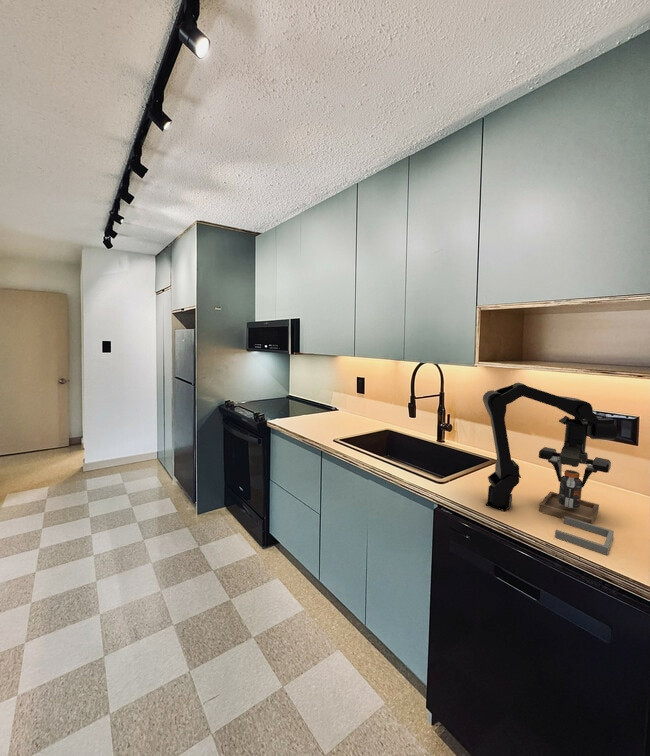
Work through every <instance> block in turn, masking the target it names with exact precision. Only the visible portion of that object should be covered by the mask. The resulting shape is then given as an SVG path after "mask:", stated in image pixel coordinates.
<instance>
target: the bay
mask: <svg viewBox="0 0 650 756" xmlns="http://www.w3.org/2000/svg"><path fill="white" fill-rule="evenodd" d="M564 524H565V525H568V526H571V527H575V528H577V529H580V530H584V531H588V532H589V533H594V534H596V535H600V536H603V537H606V538H605V541H604V544H603V543H598V542H595V541H592V540H590V539H586V538H583V537H581V536H577V535H575V534H572V533H568V532H565V531H562V530H559V529H555V532H554V538H555V537H556V538H555V539H559V540H561V539H562V540H561V541H564V540H565V541H564V542H567V541H568V543H570V544H573V545H575V546H579V547H582V548H585V549H588V550H590V551H594V552H597V553H599V554H602V555H605V556H608V554H609V552H610V548H611V545H612V542H613V539H614V534H615V533H614V532H615V530H613V529H609V528H606V527H603V526H600V525H596V524H594V523H593V524H590V523H586V522H583V521H580V520H576V519H573V518H570V517H566V516H564V519H563V525H564Z"/></svg>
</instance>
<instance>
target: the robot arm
mask: <svg viewBox="0 0 650 756" xmlns="http://www.w3.org/2000/svg"><path fill="white" fill-rule="evenodd" d="M522 397H524V398H527V399H530V400H532V401H535V402H539V403H541V404H545V405H549V406H551V407H554V408H556V409H558V410H560V411H562V412H564V413H566V414H568V415H570V416H572V417H574V418H570V417H569V416H567V415H564V416H563V417H562V418H560V419H558V422H559V423H561V424H562V425H565V430H564V431H565V432H564V441H563V446H562V448H561V451H560V452H557V448H552V447H546V446H544V447H543V448H541V449H540V450H539V451H538V458H539V459H543V460H547V462H548V463H550V464H551V465H552V467H553V468H554V471H555V473H556V476H557V480H558V482H559V483H560V479H561V477H562V476H563V475H562V471H563V467H562V466H564V465H566V466H570V467H573V468H577V467H579V465H580V464H581V465H582V464H583V465H586V467H585V468H584V473H583V477H582V479H581V481H582V489H583V488H584V486H586V483H587V482H588V479H589V477H590V476H591V475H592V474H593V473H598V472H602V473H606V474H607V473H608V474H609V471H610V470H611V467H612V462H611V460H610V459H608V458H607V459H606V458H603V457H602V458H601V457H596V456H595V457H594V459H591V458H588V457H589V456H588V455H589V454H588V452H586V446H587V438H588V437H589V438H590V439H591V440H603V441H615V440H617V439H616V438H617V437H618V429H617V426H616V424H615V419H613V418H611V417H609V418H608V417H607V418H600V417H599V418H598V417H597V416H596V414H595V413H594V411H593V410H594V409H593V406H592V404H591V403H590V402H588V401H585V400H584V399H583V400H582V399H580V398H577V397H576V398H575V397H570V396H560V395H556V394H553V393H551V392H547V391H543V390H541V389H538V388H534V387H531V386H528V385H526V384H524V383H522V382H515V383H513V384H511V385H508V386H504V387H502V388H499V389H496V390H494V389H492V390H489V391H488V390H487V392H486V391H485V393H484V394H483V396H482V401H483V405H484V407H485V410H486V412H487V415H488V416H489V418H490V424H491V429H492V434H493V435H492V436H493V442H494V443H493V444H494V447H495V453H496V461H495V467H494V469H495V471H493V473H491V474H490V475H489V476H488V477H487V478H488V479H487V480H488V482H489V484H490V485H488V490H487V491H488V493H487V502H486V503H485V506H488V507H490V508H493V509H496V510H500V511H503V512H507V510H509V509H510V508H511V507H512V506H513V505H512V504H513V494H512V492H513V490H514V488H515V487H516V486H518V485H519V483H520V479H522V476H521V474H520V466H519V465H518V463H517V462H516V461H515V460H514V459H512V457H511V450H510V449H511V448H510V443H509V438H508V432H507V427H506V420H505V418H506V412H507V405H509V404H511V403H513V402H515V401H517V400H518V399H519V398H522ZM582 420H584V421H582ZM587 436H588V437H587Z"/></svg>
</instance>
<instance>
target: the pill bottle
mask: <svg viewBox="0 0 650 756" xmlns="http://www.w3.org/2000/svg"><path fill="white" fill-rule="evenodd" d="M582 491H583V488H582V479H581V478H580V472H578V471H577V470H572V469H565V470H564V475H562V477H561V479H560V482H559V490H558V494H559V499H558V502H559V503H560V504H561V505H563V506H565V507H568V508H579V507H580V501H581V500H582V499H581V498H582Z"/></svg>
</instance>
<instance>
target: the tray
mask: <svg viewBox="0 0 650 756" xmlns="http://www.w3.org/2000/svg"><path fill="white" fill-rule="evenodd" d="M558 499H559V492H554V491H549V492H547V495H546V496H545V497H544V499H542V500H541V502H540V503H539V505H538V506H539V507H538V512H539V513H541V514H542V513H543V514H546V515H549V516H552V517H555V518H559V519H562V520H564V516H566V517H570V518H573V519H576V520H580V521H583V522H586V523H590V524H593V525H594V522H595V520H596V518H597V517H598V516H597V515H598V514H599V509H600V504H599V503H595V502H591V501H587V500H584V499H581V501H580V507H579V508H568V507H565V506H563V505H561V504H560V503H559V502H558Z"/></svg>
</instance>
